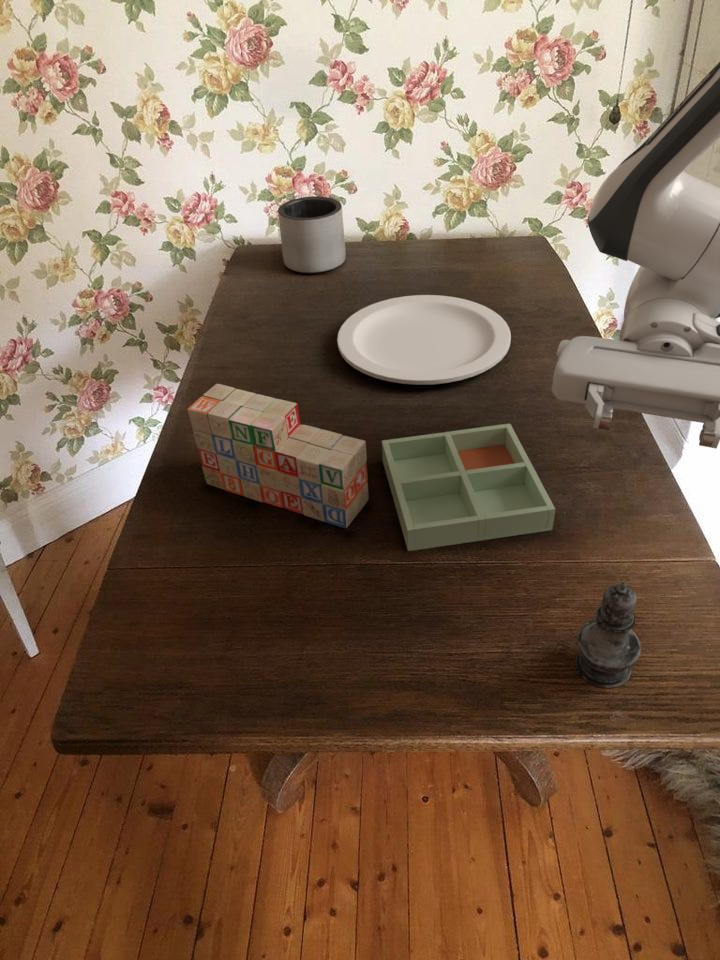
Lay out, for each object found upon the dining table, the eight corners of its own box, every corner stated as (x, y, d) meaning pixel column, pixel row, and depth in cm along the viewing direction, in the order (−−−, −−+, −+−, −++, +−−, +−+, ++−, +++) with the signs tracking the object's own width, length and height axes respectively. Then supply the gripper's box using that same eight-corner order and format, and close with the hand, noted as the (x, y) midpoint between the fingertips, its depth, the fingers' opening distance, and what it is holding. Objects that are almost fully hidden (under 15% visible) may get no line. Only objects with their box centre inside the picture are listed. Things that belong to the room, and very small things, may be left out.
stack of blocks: (370, 499, 95) (365, 419, 87) (346, 530, 91) (339, 450, 83) (232, 457, 103) (216, 381, 95) (204, 484, 99) (185, 406, 91)
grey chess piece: (560, 654, 75) (575, 572, 68) (607, 633, 77) (627, 550, 69) (598, 700, 71) (619, 617, 63) (647, 676, 73) (673, 593, 65)
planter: (300, 281, 145) (294, 224, 138) (274, 259, 154) (266, 205, 146) (357, 265, 149) (354, 209, 142) (328, 244, 158) (324, 191, 151)
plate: (305, 344, 126) (303, 331, 125) (430, 292, 138) (430, 280, 137) (413, 415, 108) (413, 402, 107) (546, 348, 121) (548, 335, 119)
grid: (508, 443, 102) (510, 423, 100) (552, 530, 89) (555, 508, 87) (382, 460, 101) (381, 440, 99) (407, 551, 88) (407, 530, 85)
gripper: (565, 310, 79) (544, 386, 69) (778, 337, 73) (787, 424, 64) (557, 360, 83) (536, 438, 74) (757, 389, 78) (763, 478, 68)
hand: (655, 432), depth 69 cm, fingers open, 8 cm apart
